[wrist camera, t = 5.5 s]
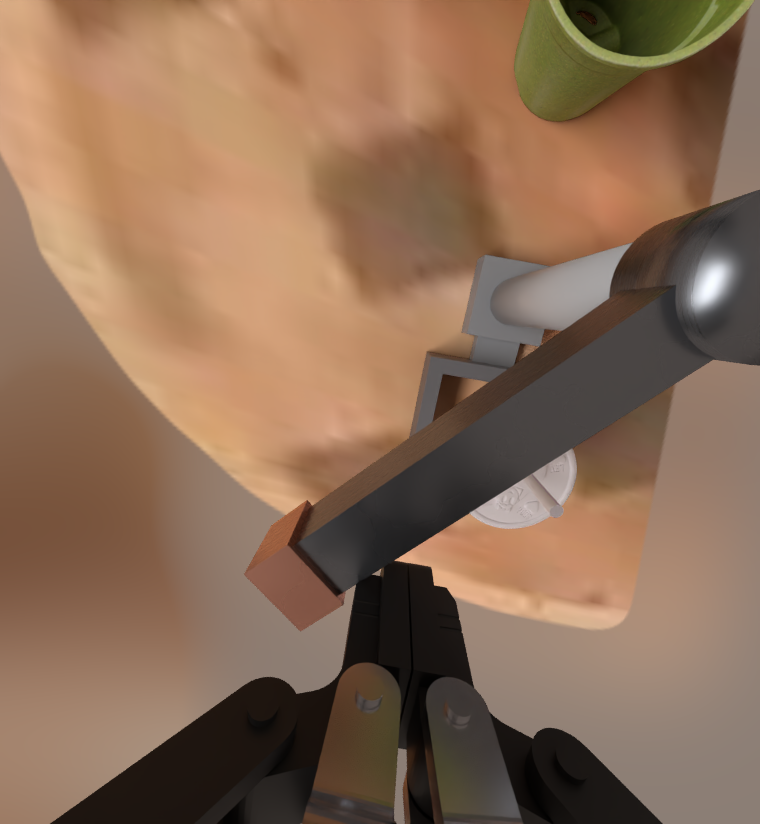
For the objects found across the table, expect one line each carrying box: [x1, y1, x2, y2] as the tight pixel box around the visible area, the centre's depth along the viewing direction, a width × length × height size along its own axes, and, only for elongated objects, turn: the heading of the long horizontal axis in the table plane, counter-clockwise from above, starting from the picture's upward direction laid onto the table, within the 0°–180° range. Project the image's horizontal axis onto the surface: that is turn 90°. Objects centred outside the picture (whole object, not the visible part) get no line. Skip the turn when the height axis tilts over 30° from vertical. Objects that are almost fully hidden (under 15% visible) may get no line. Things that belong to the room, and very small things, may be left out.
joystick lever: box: [244, 190, 760, 631], centre depth 10 cm, size 16×4×3 cm, turn 127°
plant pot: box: [514, 0, 755, 121], centre depth 18 cm, size 9×9×9 cm
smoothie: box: [470, 449, 577, 529], centre depth 21 cm, size 6×6×14 cm
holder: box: [409, 243, 632, 438], centre depth 20 cm, size 16×9×16 cm, turn 170°
